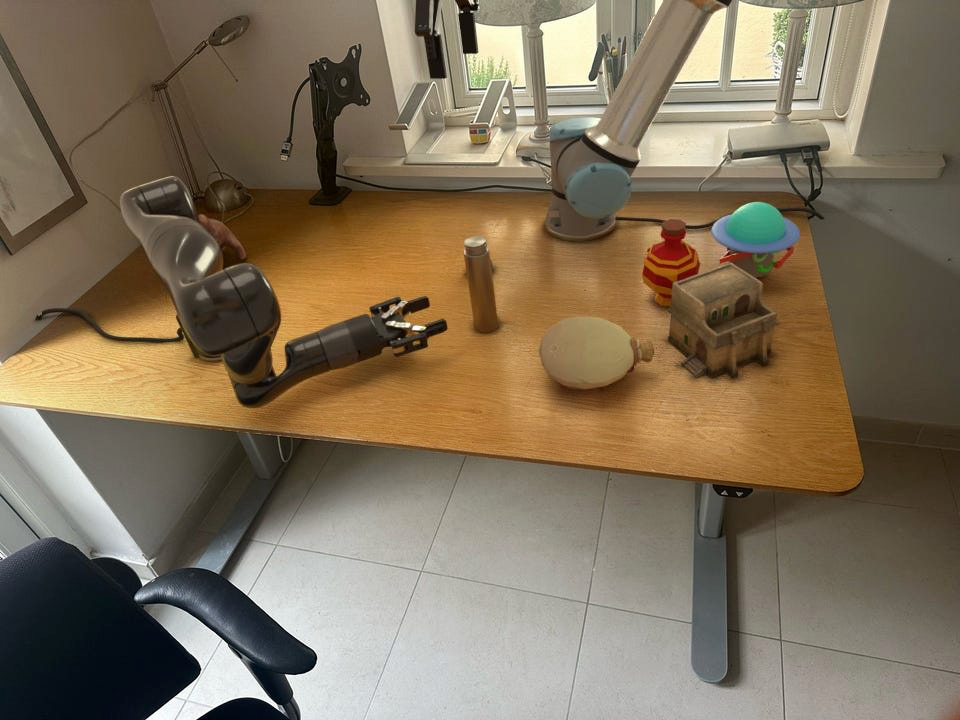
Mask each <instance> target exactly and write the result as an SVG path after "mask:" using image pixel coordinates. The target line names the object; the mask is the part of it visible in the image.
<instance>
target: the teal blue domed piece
mask: <svg viewBox="0 0 960 720" xmlns="http://www.w3.org/2000/svg"><path fill="white" fill-rule="evenodd" d="M776 208H777V207H775V206H773V205H771V204H769V203H767V202H763V201H762V202H761V201H754V202H749V203H746V204H743V205H741V206H740V207H738V208H737V209H736V210H734V211H733V212H732V213H733V214H731V215H728V216H725V215H724V216H725V217H723V216H722V217H723V218H721V217H720V218H721V219H719V218H718V219H719V220H718V221H717V222H716V223H715V224H714V225H713V226H711V236H712V237H713V239H714V240H715V242H717V243H719V245H721V246H723V247H725V248H726V252H725V253H724V254H723V255H722V257H721V258H719V265H721V264H726V263H733V264H734V265H736V266H737V267H739V268H740V269H742V270H744V271H745V272H747V273H748V274H750V275H751V276H753V277H754V278H756V279H757V278H760V277H763V276H766V275H768V274H770V273H771V271H772V269H773V268H774V269H777V270H778V269H780V268H782V265H784V264H785V262H786V261H788V260H789V258H790V257H791V256H792V255H793V254H794V250H795V247H794V245H795V244H796V243H797V242H799V240H800V238H801V231H800V229H799V227H798V226H797V225H796V224H795V223H794V222H793V221H792V220H790V219H788V218H786V217H784V216H783V214H782V212H779V211H778V210H777V209H776ZM785 250H786V253H785V254H784V255H783V256H782V257H781V259H779V260H777V261H775V258H774V257H775V256H776V255H778V254H779V253H781V252H782V251H785Z"/></svg>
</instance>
